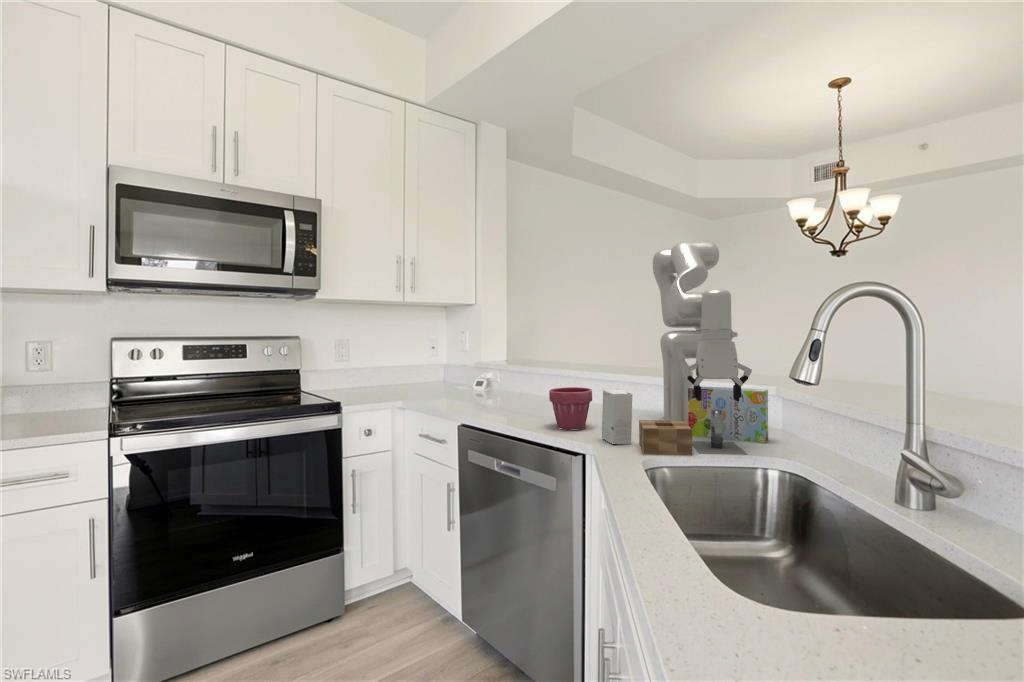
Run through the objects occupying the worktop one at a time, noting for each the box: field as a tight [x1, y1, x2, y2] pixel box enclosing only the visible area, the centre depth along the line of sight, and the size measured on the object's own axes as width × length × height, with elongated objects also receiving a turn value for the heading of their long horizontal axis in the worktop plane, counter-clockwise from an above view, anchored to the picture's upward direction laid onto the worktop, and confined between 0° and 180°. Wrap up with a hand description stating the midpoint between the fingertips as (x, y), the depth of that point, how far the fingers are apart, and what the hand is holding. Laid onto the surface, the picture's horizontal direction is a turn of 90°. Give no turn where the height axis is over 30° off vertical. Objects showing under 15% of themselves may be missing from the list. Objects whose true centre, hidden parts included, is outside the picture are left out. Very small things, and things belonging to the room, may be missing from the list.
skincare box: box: [601, 389, 633, 445], centre depth 143 cm, size 8×6×15 cm
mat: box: [692, 440, 749, 456], centre depth 133 cm, size 14×12×1 cm
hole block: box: [638, 419, 693, 457], centre depth 132 cm, size 12×12×7 cm
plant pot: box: [548, 386, 593, 430], centre depth 164 cm, size 14×14×13 cm
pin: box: [710, 410, 724, 449], centre depth 133 cm, size 3×3×10 cm
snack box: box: [688, 385, 769, 444], centre depth 144 cm, size 21×6×15 cm, turn 56°
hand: (717, 400), depth 132 cm, fingers open, 9 cm apart
